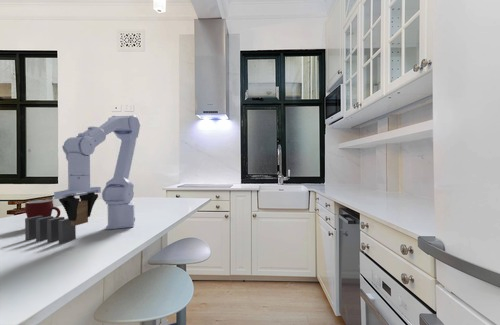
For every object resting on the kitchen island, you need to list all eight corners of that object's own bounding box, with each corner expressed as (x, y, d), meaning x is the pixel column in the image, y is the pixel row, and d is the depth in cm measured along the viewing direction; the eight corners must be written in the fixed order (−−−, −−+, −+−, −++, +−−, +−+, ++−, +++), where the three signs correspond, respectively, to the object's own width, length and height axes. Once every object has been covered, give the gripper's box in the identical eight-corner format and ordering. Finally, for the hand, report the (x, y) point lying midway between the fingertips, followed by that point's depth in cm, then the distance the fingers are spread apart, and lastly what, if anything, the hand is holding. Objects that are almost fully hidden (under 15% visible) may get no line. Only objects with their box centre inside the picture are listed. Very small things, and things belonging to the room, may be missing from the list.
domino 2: (53, 237, 83) (53, 216, 83) (40, 241, 79) (39, 219, 79) (50, 236, 83) (49, 216, 83) (36, 241, 79) (35, 219, 79)
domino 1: (43, 236, 84) (43, 215, 84) (29, 240, 80) (28, 218, 80) (39, 236, 84) (39, 215, 84) (25, 240, 80) (25, 218, 80)
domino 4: (75, 238, 81) (75, 217, 81) (62, 243, 77) (62, 220, 77) (71, 238, 81) (71, 217, 81) (58, 242, 77) (58, 220, 77)
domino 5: (88, 222, 80) (87, 200, 80) (75, 225, 76) (75, 202, 76) (83, 221, 80) (83, 200, 80) (71, 225, 76) (71, 202, 76)
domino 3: (64, 238, 82) (64, 217, 82) (51, 242, 78) (51, 220, 78) (60, 237, 82) (60, 216, 82) (47, 242, 78) (47, 219, 78)
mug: (61, 222, 103) (61, 198, 102) (59, 227, 96) (59, 201, 96) (28, 226, 97) (27, 201, 97) (23, 231, 90) (22, 204, 90)
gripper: (88, 174, 86) (89, 213, 86) (45, 176, 72) (46, 223, 72) (105, 174, 84) (106, 214, 84) (65, 176, 70) (65, 224, 70)
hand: (79, 218), depth 78 cm, fingers closed on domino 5, 4 cm apart
